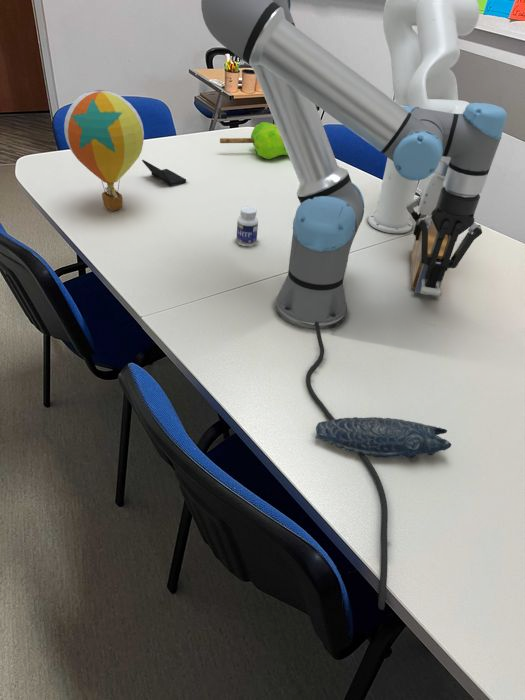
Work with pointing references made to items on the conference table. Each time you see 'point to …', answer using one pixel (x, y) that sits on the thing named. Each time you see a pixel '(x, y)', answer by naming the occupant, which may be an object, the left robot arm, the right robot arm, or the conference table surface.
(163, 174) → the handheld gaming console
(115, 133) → the toy
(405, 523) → the conference table surface
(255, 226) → the pill bottle
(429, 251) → the tan wooden box
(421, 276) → the drawer
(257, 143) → the decorative tree
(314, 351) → the conference table surface
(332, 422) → the fish model
